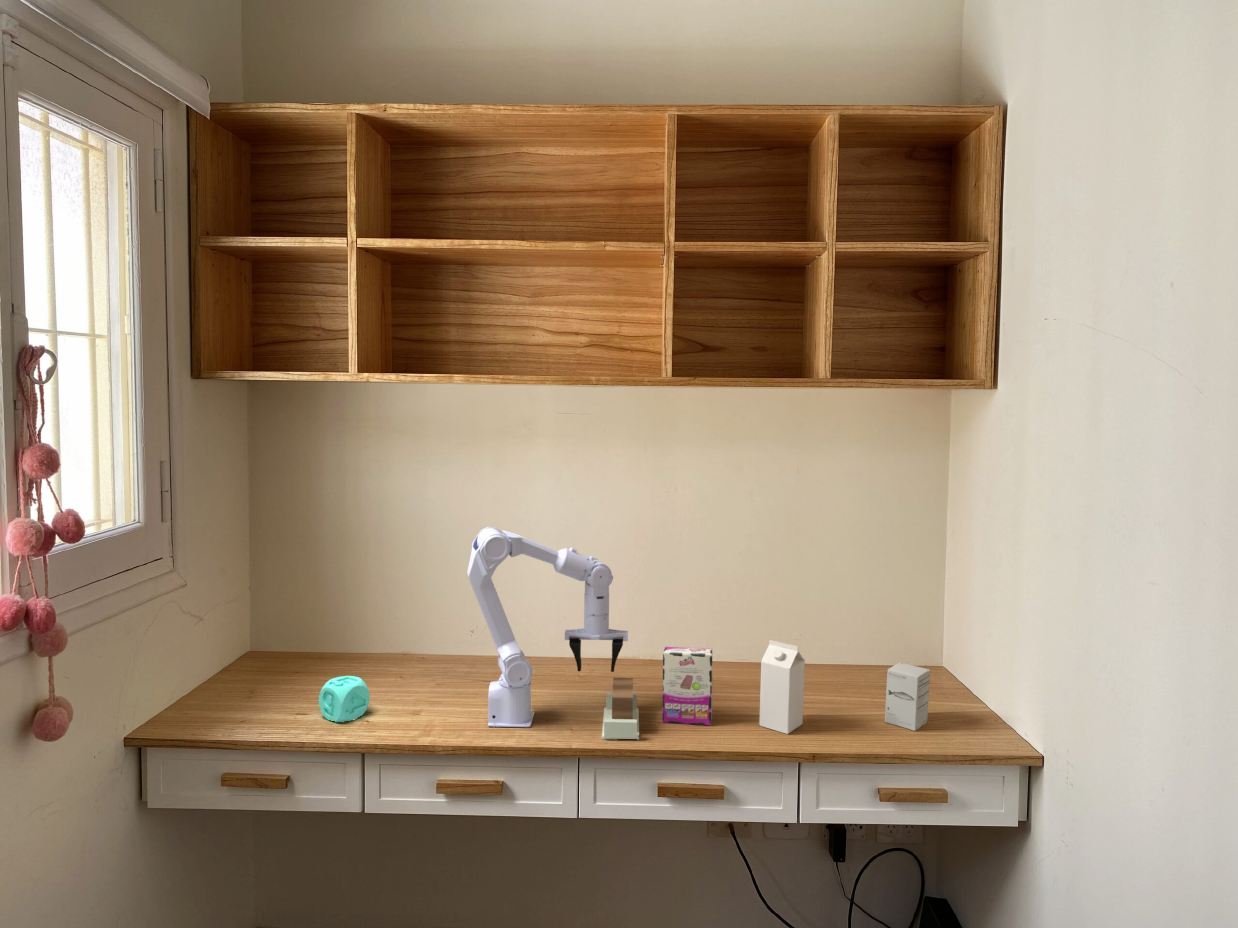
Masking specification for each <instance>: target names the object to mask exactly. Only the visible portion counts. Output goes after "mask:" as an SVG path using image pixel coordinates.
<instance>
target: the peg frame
mask: <svg viewBox="0 0 1238 928" xmlns="http://www.w3.org/2000/svg"><path fill="white" fill-rule="evenodd" d="M612 692H613V691H607V692H606V698H605V700H606V701H605V703H606V704H605V705H606V706H604V708H603V718H602V728H601V729H602V732H601V740H617V739H637V740H636V741H639V740H640V720H639V719H640V717H639V710H640V709H639V708H638V707H637V700H638V699H637V697H638V696H637V692H633V719H612Z"/></svg>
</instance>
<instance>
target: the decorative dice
mask: <svg viewBox="0 0 1238 928" xmlns="http://www.w3.org/2000/svg"><path fill="white" fill-rule="evenodd" d="M370 695H371V694H370V690H369V687H368V685H367V684H366V682H365V681H364V680H363V679H362V678H361V677H359V676H354V675H345V676H338V677H334V678H331V679H329V680H328V681H326V682H325V683H324V685H323V686H322V688H321V689H320V692H319V695H318V705H319V710H320V712H321V713H322V716H323V717H324V718H325V719H326V720H328V721H329V720H331V721H335V722H334V723H337V722H342V723H344V722H343V721H349V722H351V721H350V720H353V719H356V718H358V717H360V716H361V717H362V716H363V715H364V714H365V712H366V711H367V709H368V707H369V705H370V700H371V699H370ZM361 717H360V718H361ZM358 719H359V718H358ZM356 720H357V719H356ZM331 721H330V722H331ZM353 721H354V720H353Z"/></svg>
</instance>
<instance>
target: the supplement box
mask: <svg viewBox="0 0 1238 928" xmlns="http://www.w3.org/2000/svg"><path fill="white" fill-rule="evenodd" d="M931 671H932V670H931V669H929V668H925V667H920V666H917V665H912V664H909V663H904V662H898V663H896V664H894V665H893V666H890V667H889V668H887V674H886V676H887V677H886V691H885V692H886V693H885V707H884V708H885V709H884V710H885V711H884V723H887V724H891V725H894V726H898V727H902V728H904V729H908V730H911V731H913V732H916V731H917V730H919V729H920V728H921V727H923V726H924V725H926V724H927V723H928V716H929V715H928V713H929V702H930V701H929V700H930V699H929V698H930V697H929V696H930V685H931V684H930V683H931V682H930V680H931ZM922 725H923V726H922Z"/></svg>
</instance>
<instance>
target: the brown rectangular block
mask: <svg viewBox="0 0 1238 928" xmlns="http://www.w3.org/2000/svg"><path fill="white" fill-rule="evenodd" d="M611 692H612V719H633V693H634V678H633V677H613V678H612V691H611Z"/></svg>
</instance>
